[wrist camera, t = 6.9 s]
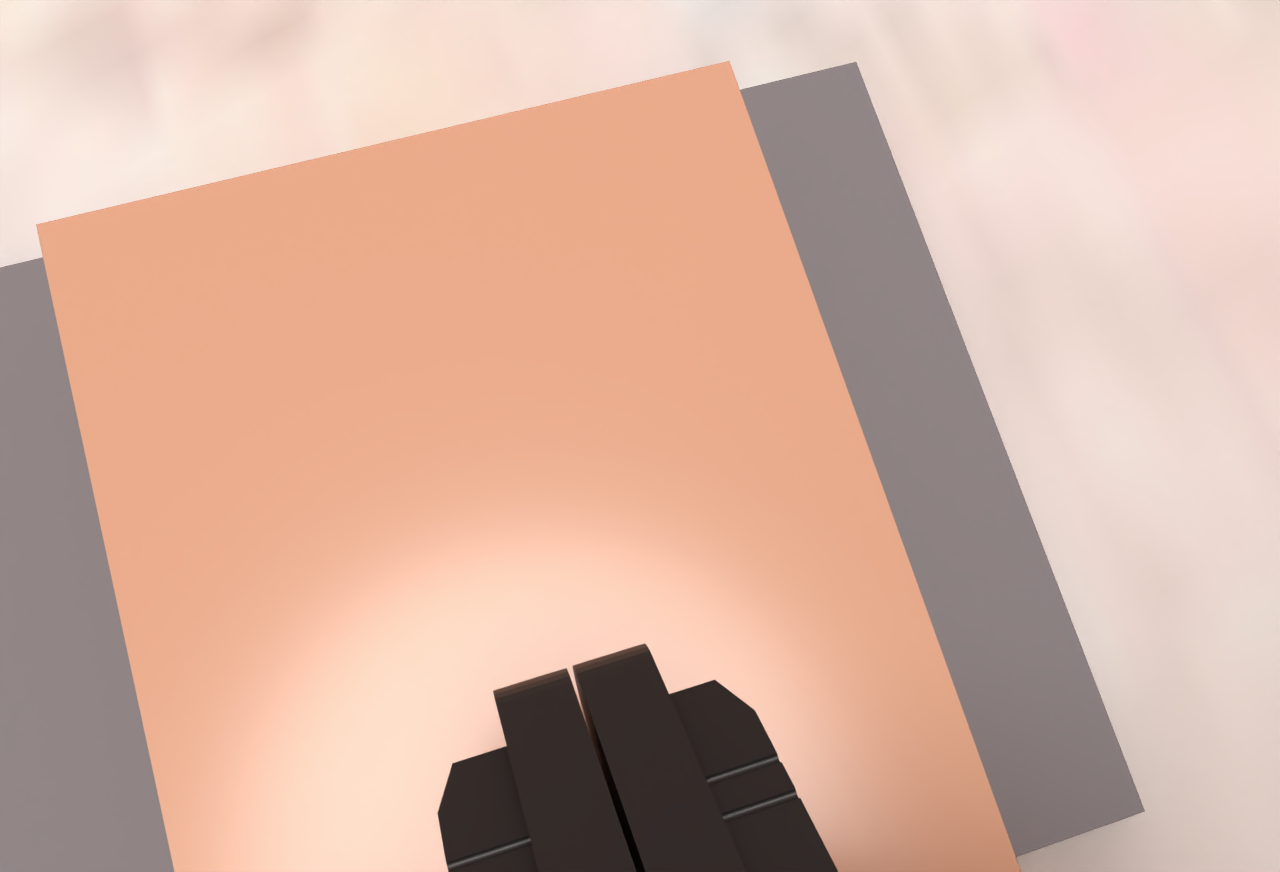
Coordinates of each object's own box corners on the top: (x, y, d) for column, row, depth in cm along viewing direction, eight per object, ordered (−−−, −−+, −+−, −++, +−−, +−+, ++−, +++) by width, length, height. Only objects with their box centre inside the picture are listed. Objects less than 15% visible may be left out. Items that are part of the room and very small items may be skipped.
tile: (981, 929, 18) (706, 141, 20) (1052, 958, 15) (729, 61, 18) (297, 1177, 16) (99, 290, 19) (256, 1253, 14) (36, 224, 17)
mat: (850, 74, 21) (856, 61, 21) (1131, 810, 19) (1144, 811, 18) (-97, 303, 19) (-111, 294, 19) (66, 1186, 16) (54, 1197, 16)
